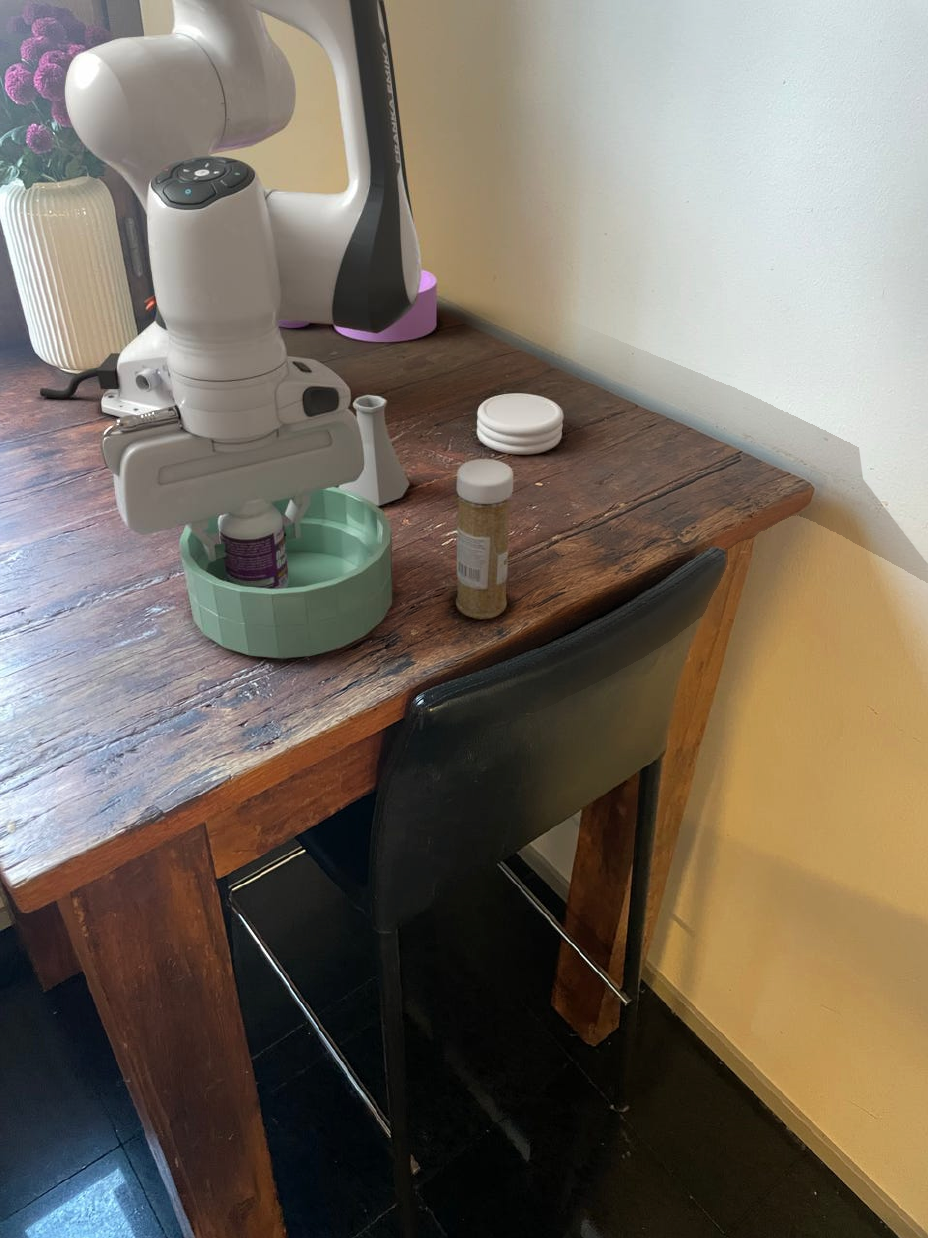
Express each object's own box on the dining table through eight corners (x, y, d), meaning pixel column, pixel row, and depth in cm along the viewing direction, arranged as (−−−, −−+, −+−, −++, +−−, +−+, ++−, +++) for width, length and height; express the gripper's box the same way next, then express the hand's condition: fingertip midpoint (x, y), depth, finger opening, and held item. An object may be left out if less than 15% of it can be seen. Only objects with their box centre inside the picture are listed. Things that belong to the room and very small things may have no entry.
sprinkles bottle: (516, 610, 82) (525, 474, 74) (473, 627, 80) (477, 488, 72) (487, 585, 85) (492, 451, 77) (444, 601, 83) (445, 465, 75)
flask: (381, 514, 95) (377, 423, 89) (325, 494, 98) (318, 405, 92) (421, 485, 100) (420, 397, 94) (366, 467, 103) (362, 381, 97)
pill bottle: (296, 597, 82) (285, 500, 76) (235, 609, 80) (219, 511, 74) (282, 564, 86) (270, 470, 80) (223, 576, 84) (207, 481, 78)
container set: (436, 307, 146) (436, 217, 138) (436, 342, 134) (436, 246, 126) (275, 305, 145) (266, 215, 137) (260, 340, 133) (249, 244, 125)
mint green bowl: (154, 642, 78) (138, 572, 73) (247, 535, 91) (238, 471, 87) (351, 681, 74) (346, 610, 70) (417, 564, 88) (417, 498, 84)
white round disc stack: (488, 414, 115) (489, 386, 113) (568, 425, 113) (571, 397, 110) (466, 449, 107) (467, 420, 105) (552, 461, 105) (554, 433, 103)
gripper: (105, 439, 66) (142, 599, 74) (368, 384, 74) (375, 533, 82) (85, 406, 70) (122, 561, 78) (335, 358, 78) (345, 502, 87)
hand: (254, 546), depth 80 cm, fingers closed on pill bottle, 5 cm apart
